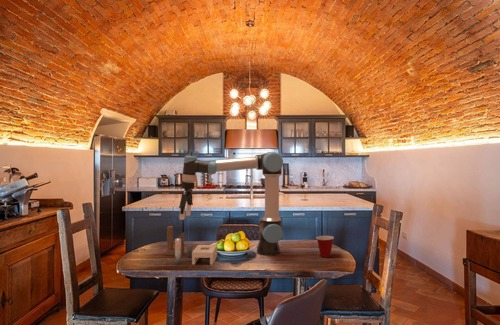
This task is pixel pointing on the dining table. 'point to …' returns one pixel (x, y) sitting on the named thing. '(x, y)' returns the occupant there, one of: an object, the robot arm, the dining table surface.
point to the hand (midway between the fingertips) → (185, 217)
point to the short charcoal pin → (189, 250)
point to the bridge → (204, 253)
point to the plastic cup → (325, 245)
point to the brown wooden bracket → (170, 242)
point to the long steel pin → (178, 250)
